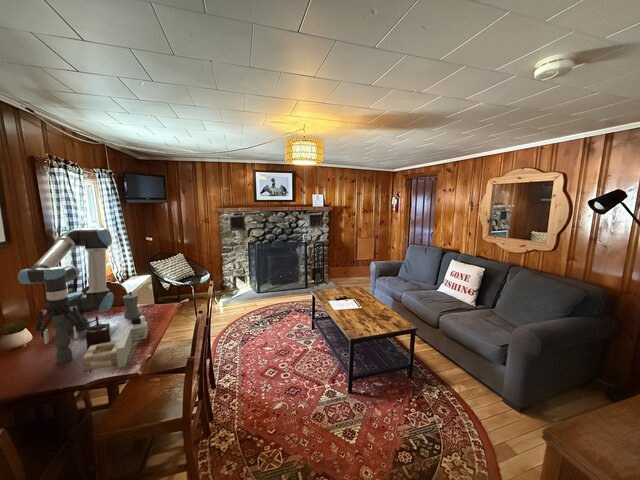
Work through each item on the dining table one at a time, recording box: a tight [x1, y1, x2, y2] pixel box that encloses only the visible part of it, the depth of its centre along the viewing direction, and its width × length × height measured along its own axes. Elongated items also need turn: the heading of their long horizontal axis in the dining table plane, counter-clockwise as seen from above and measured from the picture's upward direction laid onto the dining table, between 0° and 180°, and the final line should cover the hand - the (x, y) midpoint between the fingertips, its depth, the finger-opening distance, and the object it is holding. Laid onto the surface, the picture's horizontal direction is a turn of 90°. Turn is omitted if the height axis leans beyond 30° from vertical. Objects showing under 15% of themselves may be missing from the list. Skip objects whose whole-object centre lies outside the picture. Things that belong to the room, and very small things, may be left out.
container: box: [129, 314, 149, 342], centre depth 161 cm, size 8×8×13 cm
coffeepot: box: [122, 291, 141, 319], centre depth 192 cm, size 15×9×18 cm, turn 44°
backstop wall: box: [116, 328, 133, 369], centre depth 141 cm, size 22×3×10 cm, turn 28°
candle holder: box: [51, 313, 73, 365], centre depth 135 cm, size 6×6×25 cm
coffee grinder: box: [74, 315, 112, 351], centre depth 151 cm, size 16×11×18 cm
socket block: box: [81, 339, 120, 372], centre depth 137 cm, size 14×14×6 cm
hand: (62, 340), depth 135 cm, fingers open, 10 cm apart
